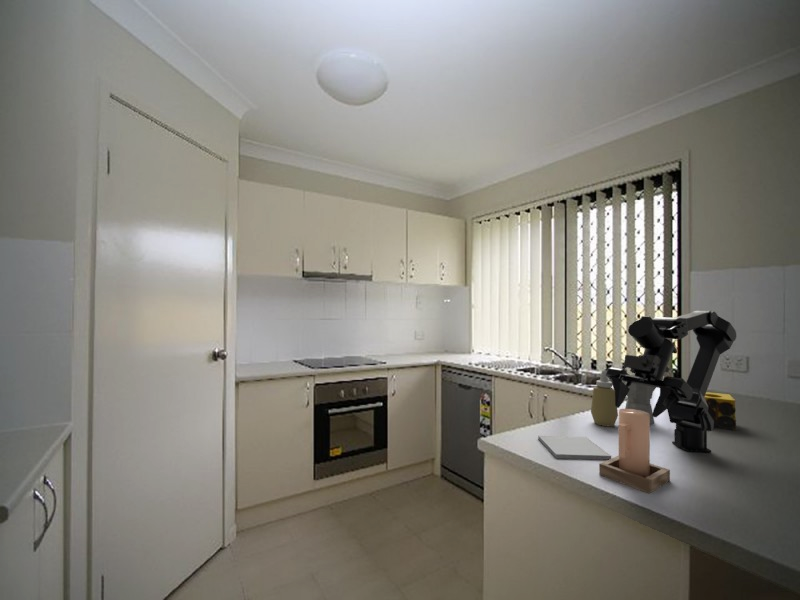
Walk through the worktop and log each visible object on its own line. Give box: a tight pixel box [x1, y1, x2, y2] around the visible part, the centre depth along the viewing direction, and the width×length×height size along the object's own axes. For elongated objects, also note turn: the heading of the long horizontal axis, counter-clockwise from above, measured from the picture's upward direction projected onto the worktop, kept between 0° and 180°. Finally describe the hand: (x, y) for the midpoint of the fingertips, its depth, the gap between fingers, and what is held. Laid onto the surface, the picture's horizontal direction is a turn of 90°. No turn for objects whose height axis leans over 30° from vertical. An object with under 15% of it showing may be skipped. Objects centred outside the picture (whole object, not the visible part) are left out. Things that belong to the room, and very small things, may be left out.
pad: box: [537, 435, 612, 460], centre depth 102 cm, size 14×14×1 cm
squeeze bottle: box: [590, 369, 619, 427], centre depth 125 cm, size 8×8×18 cm
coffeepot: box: [610, 374, 657, 426], centre depth 129 cm, size 15×9×18 cm, turn 44°
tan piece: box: [618, 408, 651, 478], centre depth 84 cm, size 9×6×15 cm
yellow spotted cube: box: [705, 391, 737, 431], centre depth 126 cm, size 10×10×10 cm
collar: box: [598, 455, 671, 494], centre depth 85 cm, size 10×10×2 cm
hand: (634, 411), depth 93 cm, fingers open, 9 cm apart
